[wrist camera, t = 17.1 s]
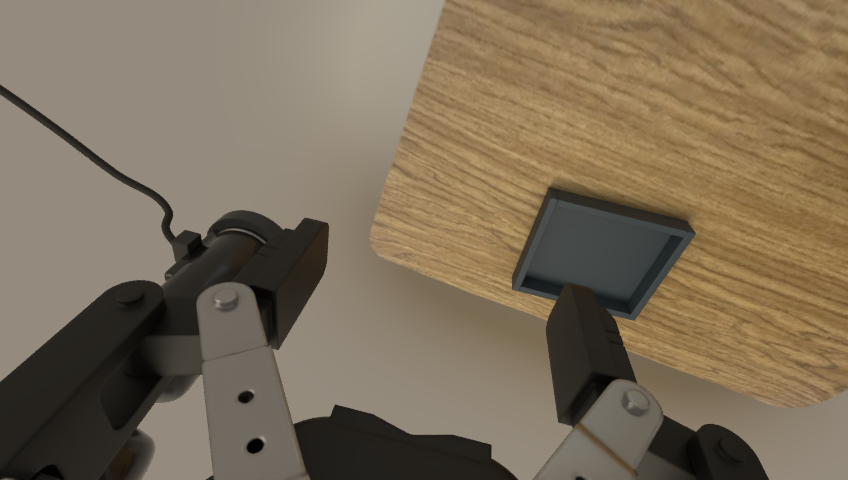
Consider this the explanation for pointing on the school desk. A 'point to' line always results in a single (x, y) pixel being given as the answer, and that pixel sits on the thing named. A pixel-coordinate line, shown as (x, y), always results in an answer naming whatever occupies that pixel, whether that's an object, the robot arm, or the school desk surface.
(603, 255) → the tray
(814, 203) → the school desk surface
